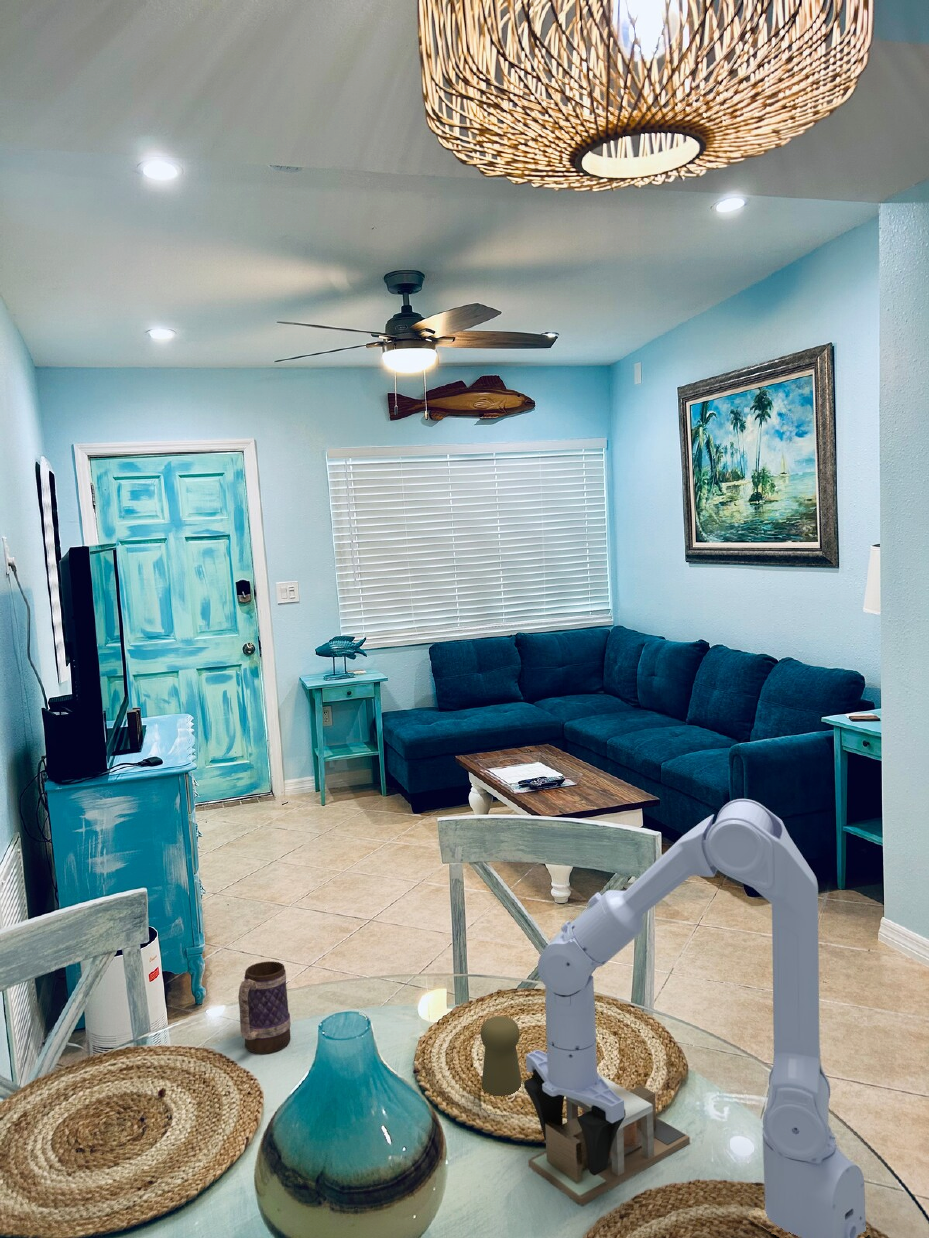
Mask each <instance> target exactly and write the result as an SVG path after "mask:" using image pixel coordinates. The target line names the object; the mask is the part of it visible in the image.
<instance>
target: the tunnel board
mask: <svg viewBox="0 0 929 1238" xmlns="http://www.w3.org/2000/svg"><path fill="white" fill-rule="evenodd" d="M600 1076H601V1078H602V1079H603V1080H604V1081H605V1082H606V1083H607V1085H608V1086H609V1087H610V1088H611V1089H612V1091H613V1092H614V1093H615V1094H616V1095H617V1096H619V1097H620V1098H622V1099H623V1100H624V1109H625V1114H626V1116H625V1118H624V1120H623V1121H622V1123H621V1125H620V1127H619V1129H618V1131H617V1133H616V1135H615V1138H614V1140H613V1143H612V1147H611V1156H612V1163H610V1164H608V1165H607V1169H606V1170H604V1171H602V1172H601V1173H599V1174H597V1175H595V1176H594V1175H592V1174H591V1173H590V1171H589V1168H588V1167H586V1168H584V1169H582V1178H583V1180H582V1181H580V1182H579V1183H576V1182H575V1181H574V1180H572V1179H571V1178H570V1177H568V1176H567V1175H565V1174H564V1173H563V1172H561V1171H560V1170H559V1169H557V1168H556V1167H554V1166H553V1165H552V1164H550V1163H549V1162H548V1161H547V1156H546V1150H544V1151H542V1152H540V1153H539V1154H537V1155H534V1156H532V1157H531V1158H529V1159H528V1167H529V1168H530V1169H532V1170H533V1171H535V1172H536V1173H537V1174H538V1175H540V1177H542V1178H544V1179H545V1180H546V1181H548V1183H550V1184H551V1185H553V1186H554V1187H555V1188H557V1189H558V1190H559V1191H560V1192H562V1193H563V1194H565V1195H566V1196H567V1197H569V1198H570V1199H571V1200H572V1201H574V1202H575V1203H576V1204H578V1205H579V1206H581V1207H583V1206H585V1205H586V1204H588V1203H590V1202H592V1201H594V1200H595V1199H596V1198H599V1197H600V1196H602V1195H604V1194H605V1193H608V1191H611V1190H612V1189H614V1188H616V1187H617V1186H619V1185H621V1184H623V1183H624V1182H626V1181H628V1180H629V1179H631V1178H633V1177H635V1176H636V1175H638V1174H640V1173H641V1172H643V1171H644V1170H647V1169H649V1168H650V1167H651V1166H654V1165H655V1164H658V1163H659V1162H660V1161H662V1160H664V1159H666V1158H667V1157H669V1156H670V1155H672V1154H674V1153H675V1152H677V1151H679V1150H681V1149H682V1148H684V1147H686V1146H688V1145H690V1144H691V1140H690V1139H691V1137H690V1136H689V1135H688V1134H685V1133H684V1132H683V1131H680V1130H679V1129H677V1128H676V1127H673V1126H672V1125H671V1124H668V1123H666V1122H665V1121H663V1120H662V1119H660V1118H659V1117H657V1116H656V1129H655V1130H653V1105H652V1104H651V1103H649V1102H647V1101H645V1100H644V1099H642V1098H640V1097H638V1096H637V1095H635V1094H633V1093H631V1092H630V1090H627V1089H626V1088H624V1087H622V1086H621V1085H619V1084H617V1083H616V1082H614V1081H612V1080H610V1079H609V1078H607V1077H605V1076H603V1075H600ZM565 1105H566V1106H565V1107H566V1108H565V1109H566V1122H568V1121H570V1120H572V1119H574V1118H577V1117H578V1116H579V1108H580V1109H581V1110H582V1109H583V1110H585V1111H586V1112H588V1111H591V1105H589V1104H588V1103H585V1102H582V1101H578V1100H575V1099H572V1098H569V1097H566V1096H565ZM639 1118H641V1137H642V1146H640V1147H638V1148H637V1149H635V1150H633V1151H631V1152H629V1153H628V1154H626V1155H624V1143H623V1127H624V1126H626V1125H628V1124H630V1123H632V1122H634V1121H636V1120H638V1119H639Z"/></svg>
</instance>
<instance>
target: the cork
mask: <svg viewBox="0 0 929 1238" xmlns="http://www.w3.org/2000/svg"><path fill="white" fill-rule="evenodd" d="M520 1032H521V1030H520V1029H519V1025H518V1023H517V1022H516V1021H515V1020H514V1019H513V1018H510V1017H507V1016H503V1015H499V1016H493V1017H489V1018H488V1019H486V1020H485V1021H483V1023H482V1025H481V1028H480V1032H479V1033H480V1034H479V1035H480V1039H481V1043H482V1045H483V1046H484V1055H483V1056H484V1057H483V1065H482V1066H483V1067H482V1077H481V1086H482V1089H483V1090H484V1091H485V1092H487V1093H489V1094H490V1095H493V1096H501V1097H502V1096H505V1095H511V1094H513V1093H515V1092H516V1091H518V1090H519V1088H520V1087H521V1082H522V1083H523V1080H522V1075H521V1067H520V1063H519V1062H520V1061H519V1058H518V1052H517V1051H518V1050H517V1045H518V1044H519V1040H520V1035H521V1034H520Z"/></svg>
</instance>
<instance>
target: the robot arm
mask: <svg viewBox="0 0 929 1238" xmlns="http://www.w3.org/2000/svg"><path fill="white" fill-rule="evenodd" d="M714 816H715V814H711V815H710V816H708V817H707V818H704V820H702V821H700V823H698V824H697V825H696V826H694V827H693V828H691V829H690V830H688V832H686V833H685V834H683V835H682V836H681V837H680V838H679V839H678V840H676V842H675V843H673V845H672V846H670V848H668V849H667V851H665V852H664V853H663V854H662V856H660V857H659V858H658V859H657V860H655V862H654V863H653V864H652V865H650V866H649V868H647V869H646V871H644V873H642V874H641V875H640V876H639V878H637V879H636V880H635V881H634V882H633V883H632V884H631V885H629V887H628V888H626V890H616V889H615V890H614V889H608V890H607V891H605V892H604V893H603V894H602V895H601V893H600V892H599V891H598V892H596V893H595V894H594V895H593V896H591V897H590V899H588V901H587V904H588V905H589V906H588V907H587V908H586V909H585V910H584V911H583V912H582V913H581V914H580V915H579V916H578V917H576V918H575V919H574V920H573V921H572V922H571V921H570V920H567V921H566V922H565V923H564V924H562V926H561V927H560V930H561V931H559V932H558V933H557V934H556V935H555V936H554V937H553V938H552V939H551V941H550V942H549V943H548V944H547V945H546V946H545V947H544V949H543V951H542V952H541V954H540V955H539V958H538V960H537V972H538V975H539V978H540V980H541V982H542V983H543V985H544V986H545V1000H544V1001H545V1003H544V1004H545V1028H546V1029H545V1030H546V1031H545V1034H546V1035H545V1036H546V1052H544V1051H542V1050H540V1049H535V1050H533V1051H532V1052H528V1053H526V1054H525V1063H526V1064H525V1065H526V1066H525V1068H526V1071H528V1072H529V1073H531V1077H530V1078H528V1079H526V1080H525V1081H524V1082H523V1089H524V1090H525V1092H526V1093H527V1095H528V1097H529V1098H530V1100H531V1103H532V1105H533V1107H534V1109H535V1112H536V1114H537V1115H536V1116H537V1118H538V1121H539V1125H540V1128H541V1132H542V1135H543V1139H544V1141H545V1142H546V1128H545V1123H547V1122H550V1121H551V1122H553V1123H554V1124H556V1125H557V1126H560V1125H562V1124H564V1123H563V1121H564V1118H563V1116H564V1103H565V1100H564V1099H565V1098H566V1097H569V1098H572V1099H575V1100H578V1101H582V1102H585V1103H588V1104H589V1105H591V1111H588V1112H586V1113H584V1114H582V1113H581V1115H578V1117H577V1120H578V1122H579V1124H580V1127H581V1129H582V1132H583V1135H584V1139H585V1143H586V1150H587V1162H588V1168H589V1171H590V1173H591V1174H592V1175H594V1176H595V1175H597V1174H599V1173H601V1172H602V1171H604V1170H606V1169H607V1164H608V1159H609V1155H610V1150H611V1147H612V1143H613V1140H614V1138H615V1135H616V1133H617V1131H618V1129H619V1127H620V1125H621V1123H622V1121H623V1120H624V1118H625V1116H626V1114H625V1109H624V1100H623V1099H622V1098H620V1097H619V1096H617V1095H616V1094H615V1093H614V1092H613V1091H612V1089H611V1088H610V1087H609V1086H608V1085H607V1083H606V1082H605V1081H604V1080H603V1079H602V1078H601V1076H602V1075H600V1074H599V1073H598V1057H597V1031H596V1030H597V1027H596V1025H597V1024H596V1000H595V993H594V992H595V990H594V989H595V988H594V976H593V973H594V972H595V971H596V969H597V968H600V967H603V966H604V965H606V963H608V962H609V961H610V960H611V959H612V958H613V957H615V956H616V955H617V954H618V953H619V952H621V951H622V950H623V949H624V948H625V947H626V946H628V945H629V944H630V943H632V941H633V940H634V939H636V938H637V937H638V936H639V935H641V933H642V932H643V930H644V914H645V913H647V912H648V911H650V910H651V909H652V908H653V907H654V906H656V905H657V904H658V903H659V902H661V901H662V900H663V899H664V898H666V897H667V896H668V895H670V894H671V892H673V891H674V890H676V889H677V888H678V887H680V885H681V884H683V883H685V882H686V881H687V880H688V879H689V878H691V877H692V876H698V877H704V878H705V877H706V878H714V877H715V876H716V874H717V871H719V872H720V873H722V874H724V875H725V876H727V877H730V879H732V880H733V879H734V880H736V881H738V882H740V883H742V884H744V885H747V886H748V887H751V888H753V890H755V891H756V892H757V893H759V895H761V896H762V897H763V898H764V899H765V900H767V902H769V903H770V904H771V923H772V925H771V927H772V929H771V930H772V931H771V933H772V935H771V937H772V944H771V945H772V946H771V947H772V1002H773V1003H772V1004H773V1005H772V1006H773V1007H772V1009H773V1011H772V1013H773V1014H772V1015H773V1016H772V1017H773V1018H772V1019H773V1022H772V1023H773V1024H772V1025H773V1064H772V1067H771V1069H770V1072H769V1075H768V1076H769V1077H768V1087H769V1088H768V1093H767V1099H766V1108H765V1110H764V1112H763V1117H762V1147H763V1148H762V1151H763V1152H762V1153H763V1154H762V1156H763V1157H762V1158H763V1180H764V1181H763V1183H764V1187H763V1188H764V1202H765V1211H766V1214H767V1217H768V1218H769V1219H770V1221H772V1222H773V1223H774V1225H777V1226H778V1227H779V1228H782V1229H783V1230H785V1231H786V1232H790V1233H791V1234H794V1235H796V1236H798V1237H802V1238H857V1236H858V1235H860V1234H861V1233H863V1232H865V1231H866V1227H867V1225H866V1224H867V1223H866V1198H865V1197H866V1195H865V1194H866V1193H865V1179H864V1174H863V1171H862V1169H861V1168H860V1166H858V1165H857V1164H855V1162H853V1161H851V1159H849V1158H848V1157H847V1156H846V1155H845V1154H844V1153H843V1152H842V1151H841V1150H840V1148H839V1147H838V1145H837V1143H836V1141H837V1140H836V1135H835V1134H834V1132H833V1131H832V1129H831V1127H830V1125H829V1112H830V1107H829V1106H830V1105H829V1104H830V1098H831V1085H830V1081H829V1079H828V1077H827V1075H826V1074H825V1072H824V1070H823V1067H822V1061H821V1060H822V1059H821V1048H820V1042H821V1041H820V972H819V971H820V969H819V968H820V964H819V963H820V962H819V956H820V953H819V952H820V951H819V948H820V947H819V885H818V880H817V877H816V875H815V872H813V870H812V869H811V867H810V866H809V864H808V862H807V861H806V859H805V858H804V857H803V854H802V853H801V852H800V850H799V849H798V847H797V845H796V844H795V843H794V841H793V839H792V838H791V837H790V834H789V832H788V830H787V828H786V827H785V824H784V822H783V820H782V819H781V818H779V817H778V816H777V815H776V814H774V813H773V812H772V811H770V810H769V809H768V808H766V807H765V806H764V805H763V804H761V803H760V802H758V801H756V800H752V799H747V798H737V799H733V800H730V801H729V802H727V803H726V804H725V805H723V807H721V809H720V810H719V812H718V814H717V817H716V820H715V822H714V823H713V819H714Z"/></svg>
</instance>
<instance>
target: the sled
mask: <svg viewBox="0 0 929 1238" xmlns="http://www.w3.org/2000/svg"><path fill="white" fill-rule="evenodd" d="M629 1091H630V1092H631V1093H633V1094H635V1095H637V1096H638V1097H640V1098H642V1099H644V1100H645V1101H647V1102H649V1103H651V1104H652V1105H653V1130H655V1129H656V1117H657V1109H656V1108H657V1105H656V1103H657V1102H656V1093H655V1092H654V1091H652V1090H650V1089H648V1088H647V1087H645V1086H643V1085H638V1086H636V1087H635V1088H632V1089H630V1090H629ZM581 1111H582V1112H581V1115H582V1114H584V1113H586V1111H585V1110H583V1109H582V1108H581ZM545 1128H546V1141H545V1151H546V1156H547V1161H548V1162H549V1163H550V1164H552V1165H553V1166H554V1167H556V1168H557V1169H559V1170H560V1171H561V1172H563V1173H564V1174H565V1175H567V1176H568V1177H570V1178H571V1179H572V1180H574V1181H575V1182H576V1183H579V1182H580V1181H582V1180H583V1178H582V1169H584V1168H586V1167H588V1162H587V1150H586V1143H585V1139H584V1135H583V1132H582V1129H581V1127H580V1124H579V1122H578V1120H577V1118H574V1119H572V1120H570V1121H568V1122H567V1121H566V1122H564V1123H563V1124H562V1125H560V1126H557V1125H556V1124H554V1123H553V1122H551V1121H550V1122H547V1123H545ZM623 1143H624V1155H626V1154H628V1153H629V1152H631V1151H633V1150H635V1149H637V1148H638V1147H640V1146H642V1137H641V1118H639V1119H638V1120H636V1121H634V1122H632V1123H630V1124H628V1125H626V1126H624V1127H623ZM610 1163H612V1156H611V1150H610V1155H609V1159H608V1164H610ZM608 1164H607V1165H608Z"/></svg>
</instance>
